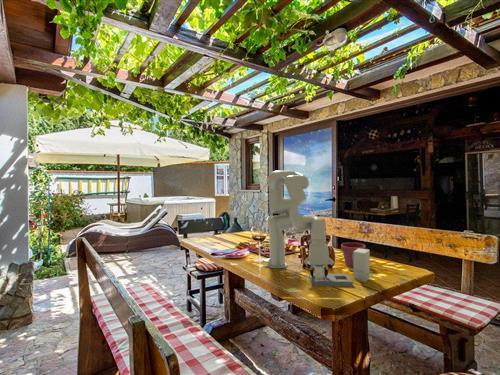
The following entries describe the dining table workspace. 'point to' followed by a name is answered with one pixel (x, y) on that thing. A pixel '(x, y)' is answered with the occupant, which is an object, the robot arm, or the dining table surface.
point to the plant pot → (350, 251)
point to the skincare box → (361, 264)
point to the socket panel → (332, 280)
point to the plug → (319, 272)
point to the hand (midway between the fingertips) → (319, 276)
